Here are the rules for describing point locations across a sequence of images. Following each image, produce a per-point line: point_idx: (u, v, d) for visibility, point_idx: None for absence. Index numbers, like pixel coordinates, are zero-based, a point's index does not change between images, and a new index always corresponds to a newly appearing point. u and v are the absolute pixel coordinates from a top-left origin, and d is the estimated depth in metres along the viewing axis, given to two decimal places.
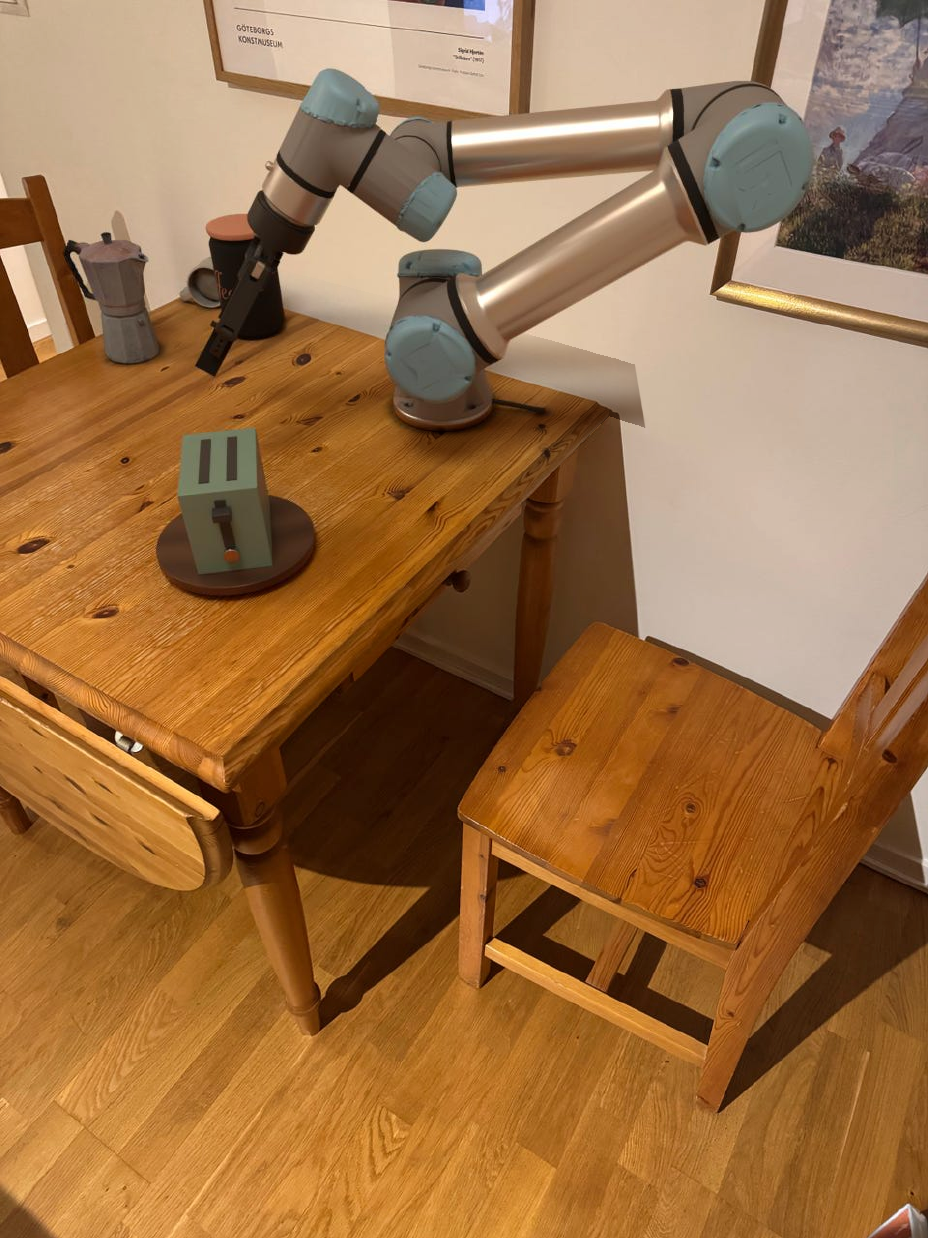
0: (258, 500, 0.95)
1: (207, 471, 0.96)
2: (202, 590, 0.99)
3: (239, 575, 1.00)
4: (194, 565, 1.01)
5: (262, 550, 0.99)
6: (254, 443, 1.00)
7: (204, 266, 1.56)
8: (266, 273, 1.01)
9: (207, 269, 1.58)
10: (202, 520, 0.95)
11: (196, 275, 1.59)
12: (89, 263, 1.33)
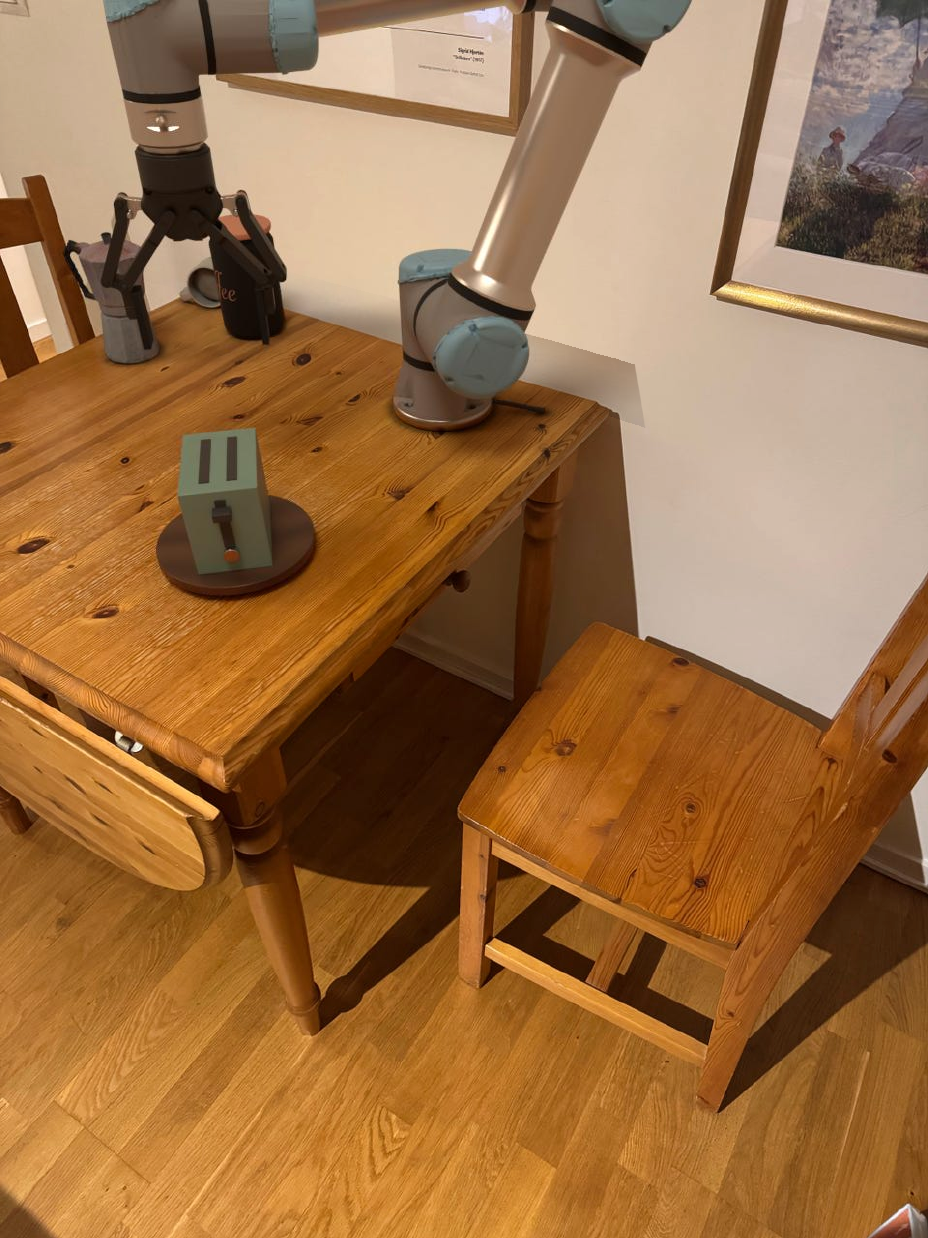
0: (258, 500, 0.95)
1: (207, 471, 0.96)
2: (202, 590, 0.99)
3: (239, 575, 1.00)
4: (194, 565, 1.01)
5: (262, 550, 0.99)
6: (254, 443, 1.00)
7: (204, 266, 1.56)
8: (247, 196, 0.93)
9: (207, 269, 1.58)
10: (202, 520, 0.95)
11: (196, 275, 1.59)
12: (89, 263, 1.33)
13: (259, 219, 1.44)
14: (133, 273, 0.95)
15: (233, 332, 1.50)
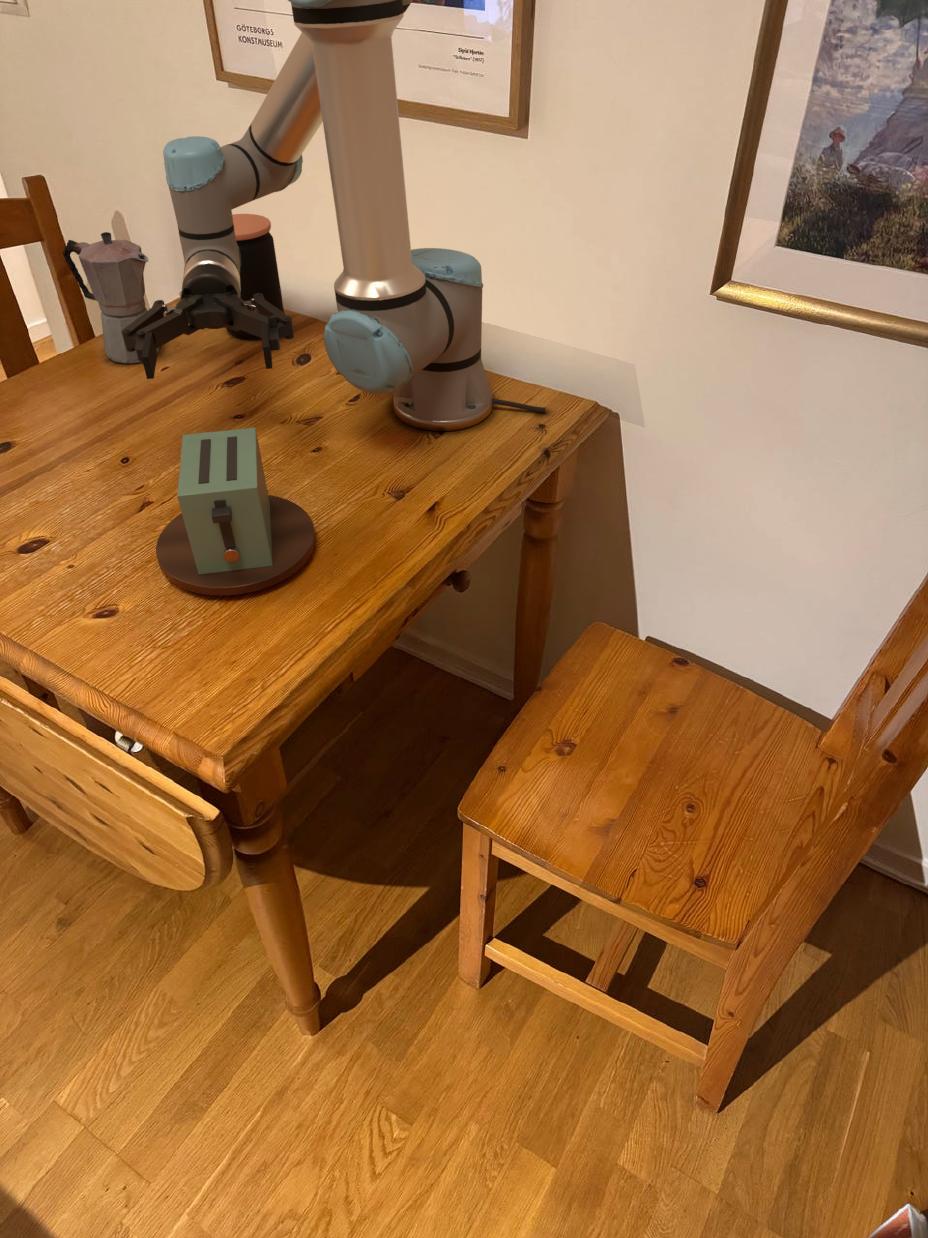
0: (258, 500, 0.95)
1: (207, 471, 0.96)
2: (202, 590, 0.99)
3: (239, 575, 1.00)
4: (194, 565, 1.01)
5: (262, 550, 0.99)
6: (254, 443, 1.00)
7: None
8: (154, 304, 1.10)
9: None
10: (202, 520, 0.95)
11: None
12: (89, 263, 1.33)
13: (259, 219, 1.44)
14: None
15: (233, 332, 1.50)
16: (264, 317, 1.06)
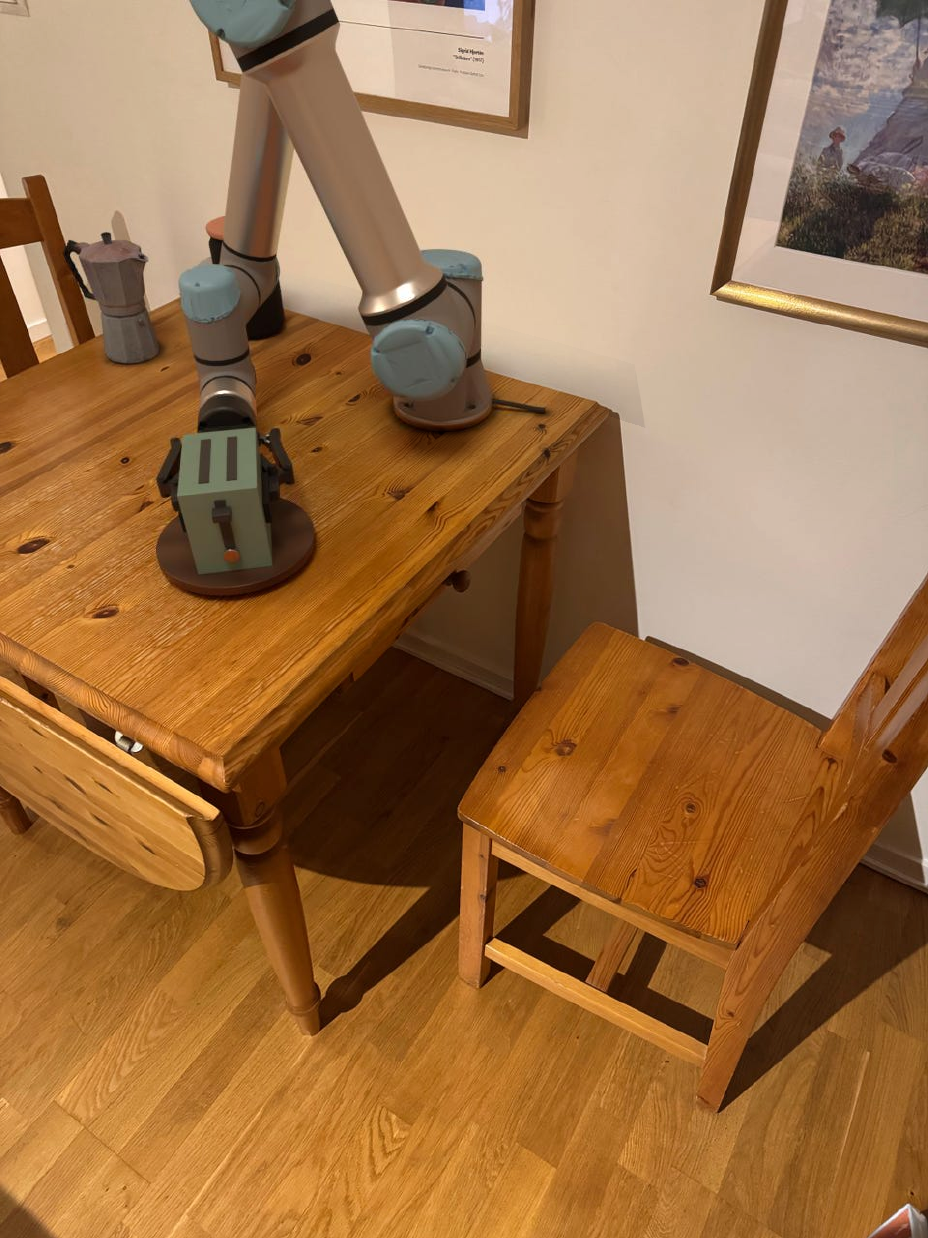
0: (258, 500, 0.95)
1: (207, 471, 0.96)
2: (202, 590, 0.99)
3: (239, 575, 1.00)
4: (194, 565, 1.01)
5: (262, 550, 0.99)
6: (254, 443, 1.00)
7: None
8: (170, 442, 1.08)
9: None
10: (202, 519, 0.95)
11: None
12: (89, 263, 1.33)
13: None
14: None
15: None
16: (267, 462, 1.04)
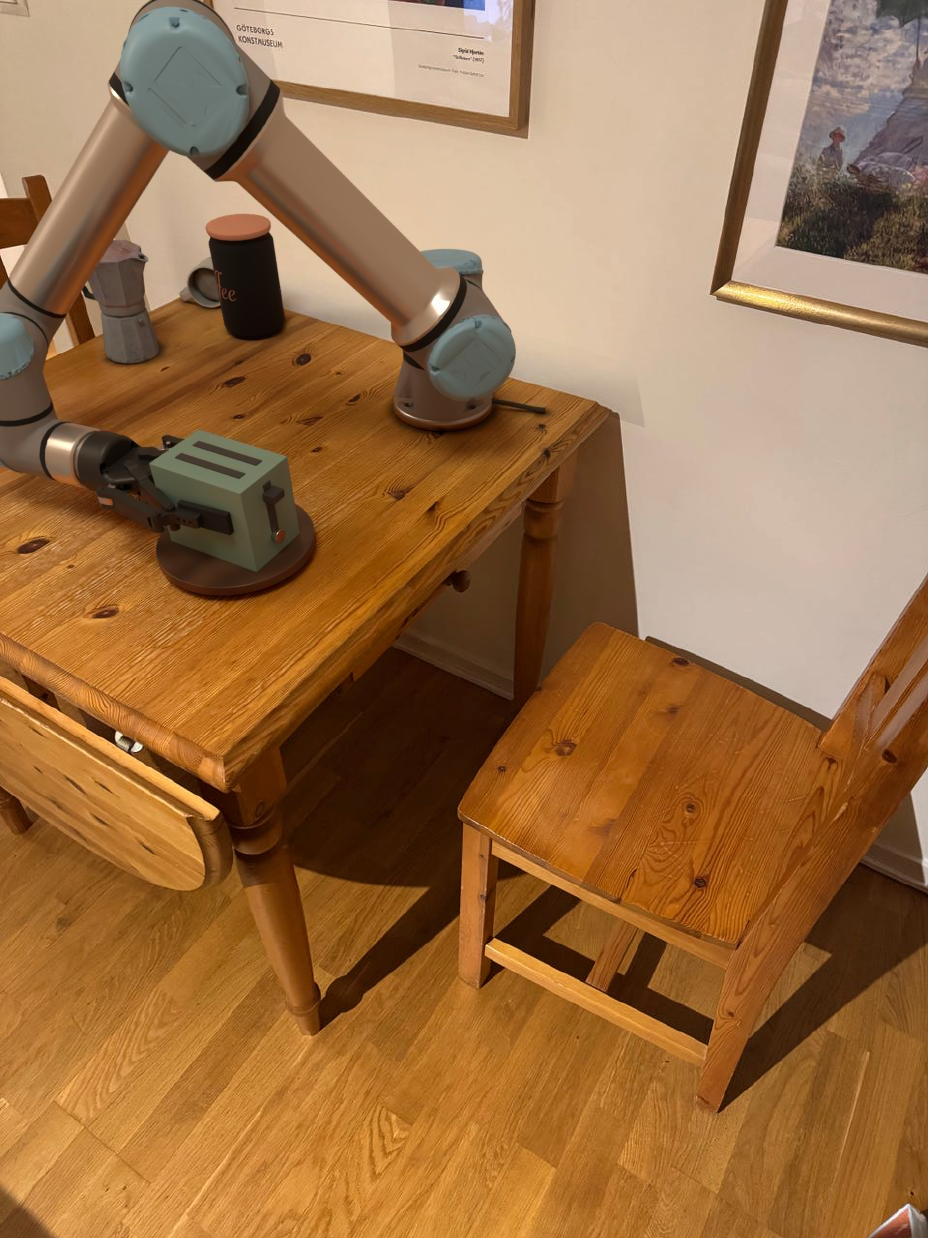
0: (288, 469, 0.99)
1: (229, 469, 0.96)
2: (274, 580, 1.00)
3: (288, 553, 1.03)
4: (241, 570, 1.00)
5: (293, 521, 1.03)
6: (222, 437, 1.01)
7: (204, 266, 1.56)
8: (99, 493, 0.99)
9: (207, 269, 1.58)
10: (256, 510, 0.96)
11: (196, 275, 1.59)
12: None
13: (259, 219, 1.44)
14: None
15: (233, 332, 1.50)
16: None
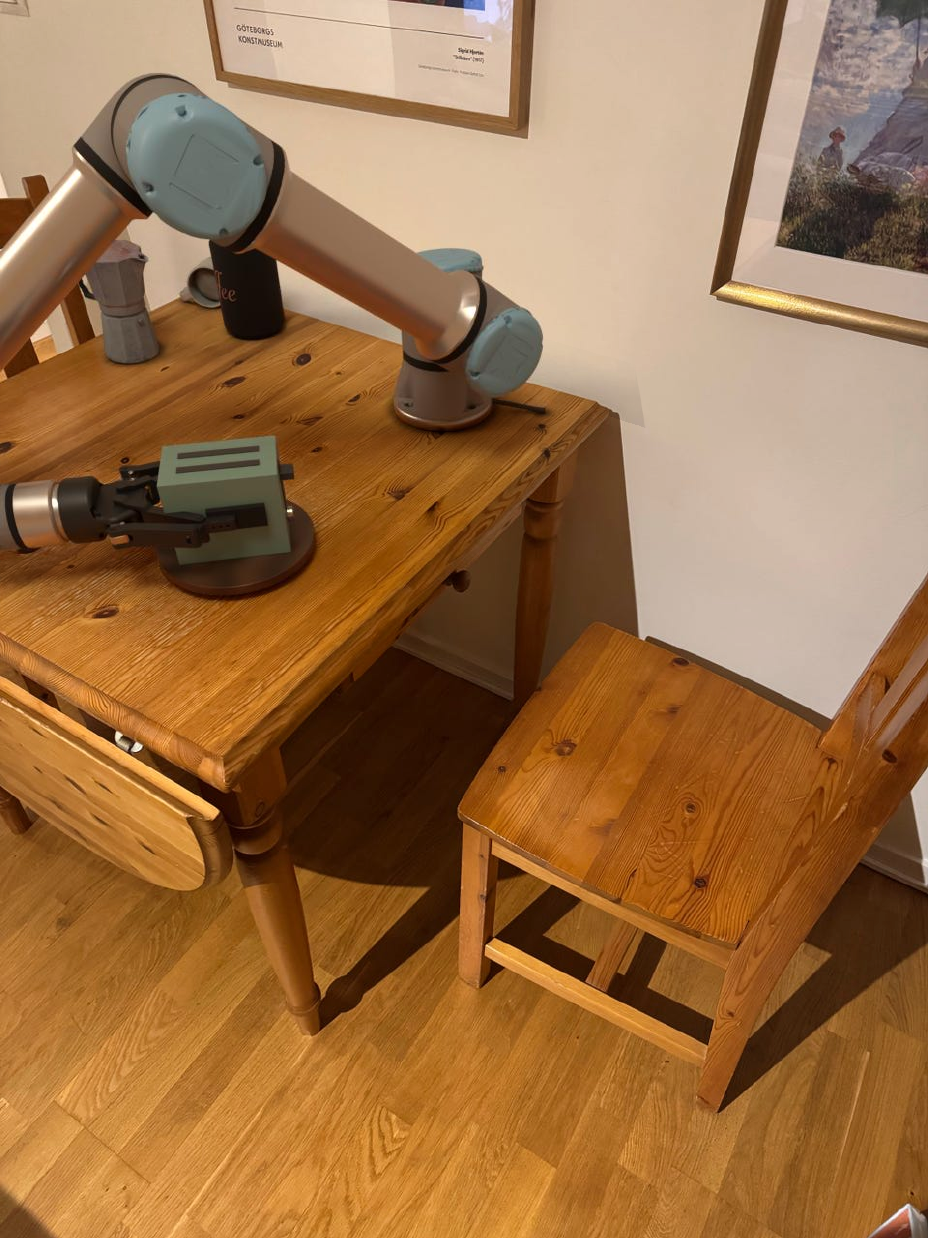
0: (277, 448, 1.03)
1: (240, 461, 0.97)
2: (309, 552, 1.04)
3: (298, 528, 1.06)
4: (275, 557, 1.02)
5: None
6: (195, 443, 1.00)
7: (204, 266, 1.56)
8: (114, 533, 0.94)
9: (207, 269, 1.58)
10: (281, 490, 0.99)
11: (196, 275, 1.59)
12: None
13: None
14: None
15: (233, 332, 1.50)
16: None
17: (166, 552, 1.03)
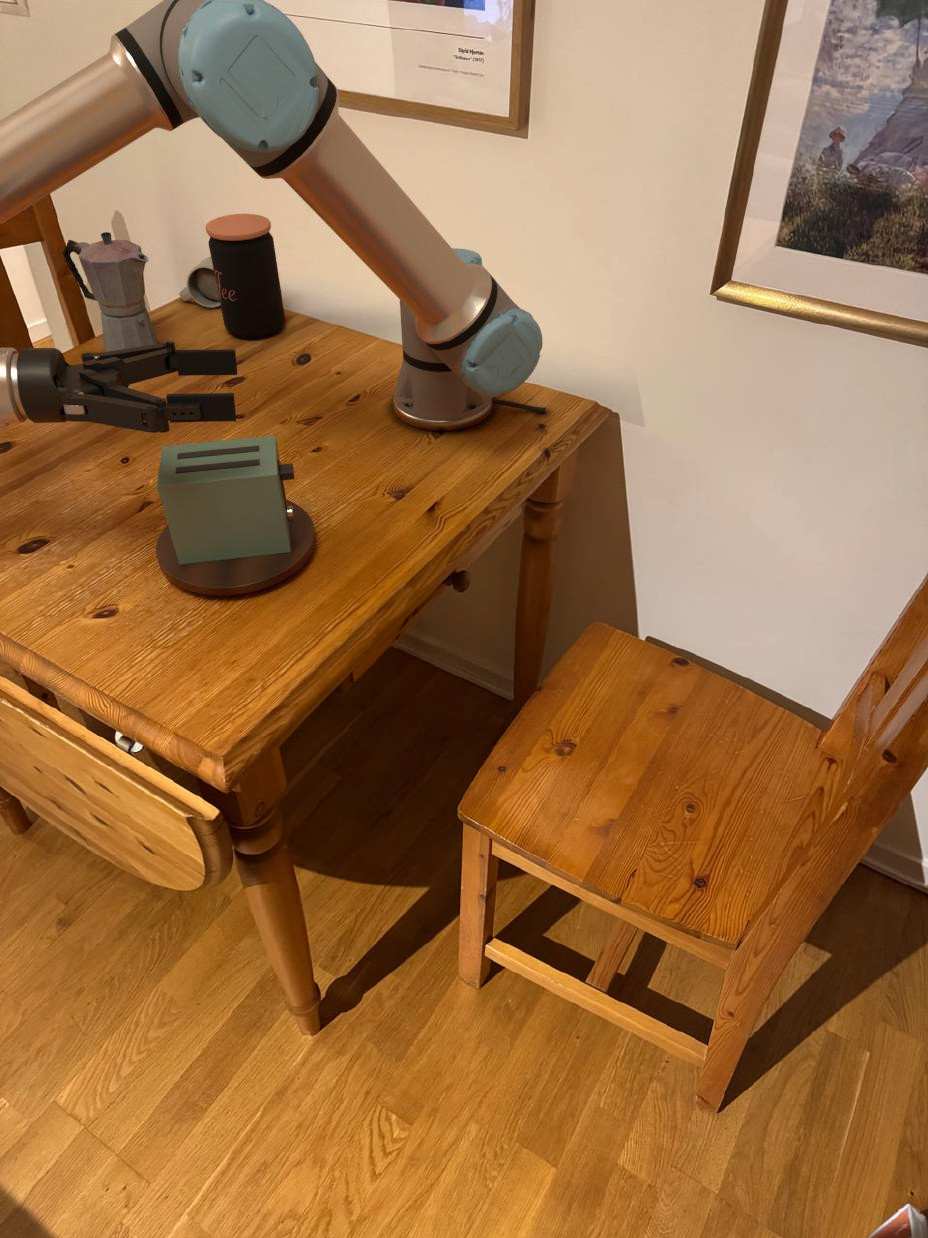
0: (277, 448, 1.03)
1: (240, 461, 0.97)
2: (309, 552, 1.04)
3: (298, 528, 1.06)
4: (275, 557, 1.02)
5: None
6: (195, 443, 1.00)
7: (204, 266, 1.56)
8: (67, 400, 0.84)
9: (207, 269, 1.58)
10: (281, 490, 0.99)
11: (196, 275, 1.59)
12: (89, 263, 1.33)
13: (259, 219, 1.44)
14: None
15: (233, 332, 1.50)
16: (155, 352, 0.96)
17: (166, 552, 1.03)
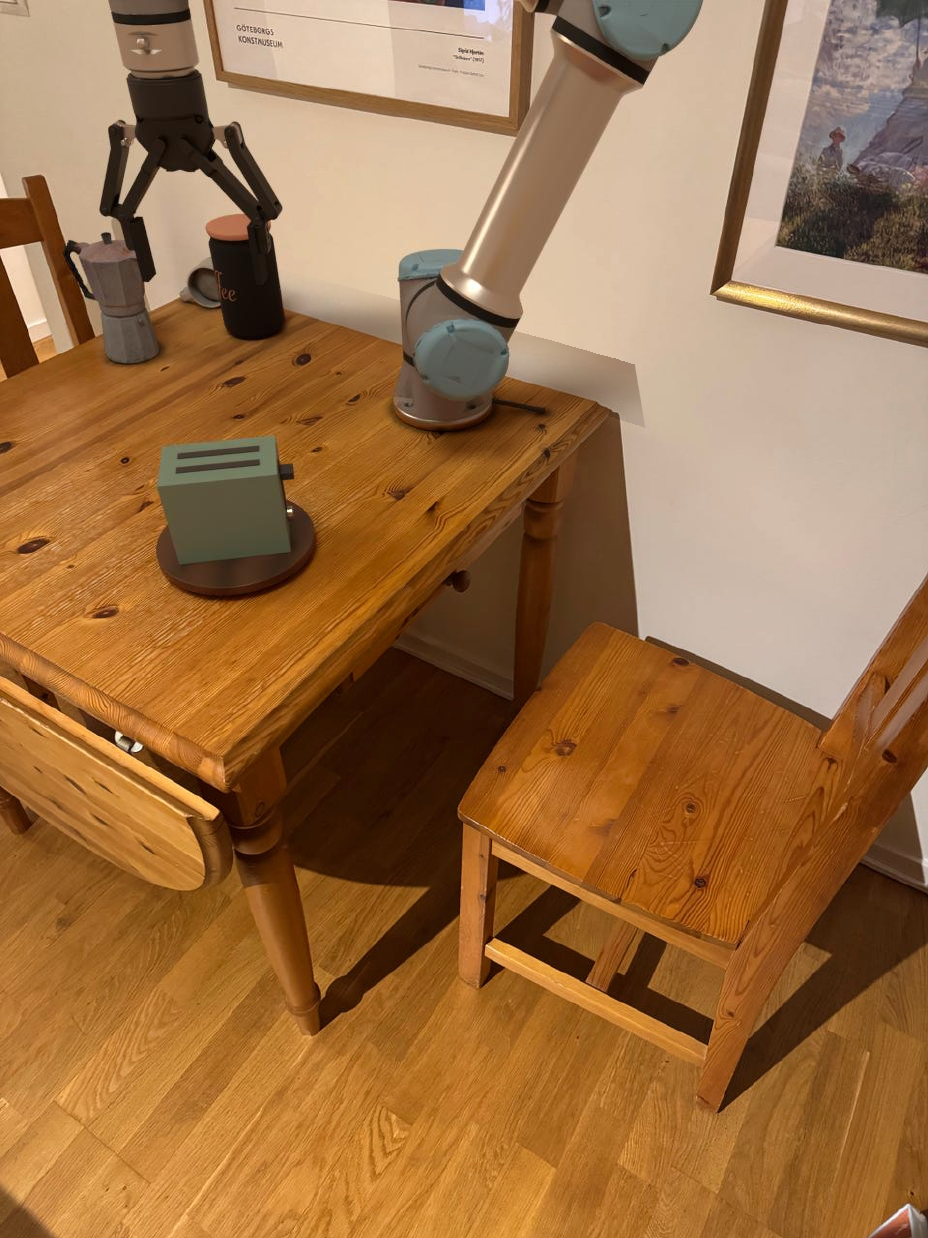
0: (277, 448, 1.03)
1: (240, 461, 0.97)
2: (309, 552, 1.04)
3: (298, 528, 1.06)
4: (275, 557, 1.02)
5: None
6: (195, 443, 1.00)
7: (204, 266, 1.56)
8: (240, 128, 0.92)
9: (207, 269, 1.58)
10: (281, 490, 0.99)
11: (196, 275, 1.59)
12: (89, 263, 1.33)
13: None
14: (129, 202, 0.96)
15: (233, 332, 1.50)
16: None
17: (166, 552, 1.03)
